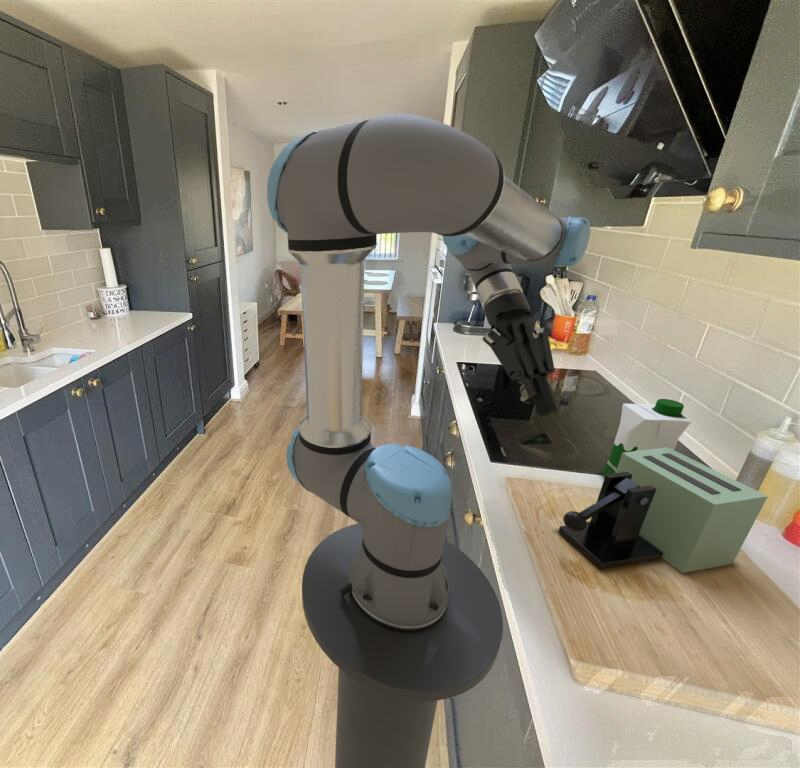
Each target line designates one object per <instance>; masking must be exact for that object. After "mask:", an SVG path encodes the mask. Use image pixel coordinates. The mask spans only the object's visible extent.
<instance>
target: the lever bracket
mask: <svg viewBox="0 0 800 768" xmlns="http://www.w3.org/2000/svg"><path fill="white" fill-rule="evenodd" d="M626 478H628V479H630V480H631V478H632V474H631V473H629V472H621V473H614V474H607V475H605V476H604V479H603V482H602V485H601V487H600V491H599V493H598V497H597V500H596V502H595V503H597V502H598V501H600V500H602V499H603V498H605V497H607V496H609V495H610V494H612V493H614V489H613V486H614V485H616V484H617V483H619V482H621V481H623V480H624V479H626ZM655 492H656V488H654V487H652V486H651V485H650V486H643V487H636V488H629V489H628V490H627V492H626V495H625V498H624V501H623V500H620V501H618V502H617V503H615V504H613V505H611V506H610V507H608V508H606V509H605V510H603V511H601V512H599V513H598V514H596V515H594V516H593V517H591V518H590V521H586V522H587V524H586V527H585V528H584V529H583V530H581V531H573V530H571V529H569V528H568V527H567V526H566V525H560V526H559V528H558V534H560V535H561V536H562V537H563V538H564V539H565V540H567V541H568V543H570V544H571V545H572V546H573V547H574V548H575V549H576V550H578V551H579V552H580V553H581V554H582V555H583V556H584V557H585V558H587V559H588V560H589V561H590V562H591V563H592V564H593V565H594V566H595V567H597V569H599V570H600V571H603V570H607V569H615V568H619V567H627V566H631V565H637V564H643V563H649V562H655V561H658V560H659V561H660V560H662V559H663V558H662V556H663V554H664V553H663V552H661V551H660V550H658V549H657V548H656V547H654V546H653V545H652V544H650V543H649V542H648V541H646V540H645V539H643V538H642V537H641V536H639V532H640V530H641V527H642V525H643V522H644V520H645V517H646V515H647V512H648V510H649V507H650V504H651V502H652V499H653V497H654V494H655ZM619 511H620V512H619Z"/></svg>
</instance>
